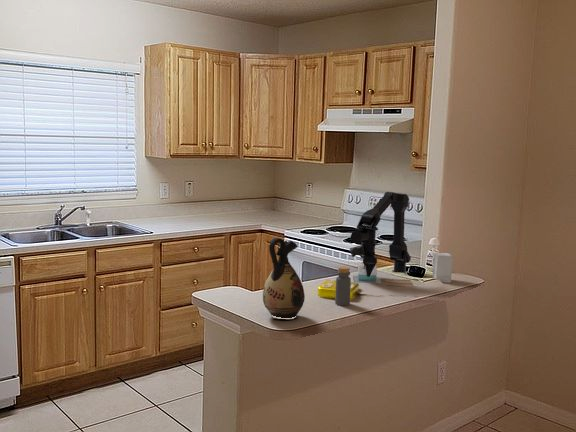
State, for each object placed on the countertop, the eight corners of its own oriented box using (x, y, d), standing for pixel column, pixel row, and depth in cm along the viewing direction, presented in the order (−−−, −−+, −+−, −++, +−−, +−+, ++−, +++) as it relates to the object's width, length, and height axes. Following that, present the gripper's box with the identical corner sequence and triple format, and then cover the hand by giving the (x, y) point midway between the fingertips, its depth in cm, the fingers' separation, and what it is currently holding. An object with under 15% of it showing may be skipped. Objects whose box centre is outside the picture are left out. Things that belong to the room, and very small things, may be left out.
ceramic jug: (284, 308, 229) (286, 232, 225) (312, 318, 218) (315, 238, 214) (250, 316, 218) (251, 236, 213) (278, 327, 207) (280, 243, 202)
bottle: (345, 307, 233) (347, 269, 231) (332, 304, 236) (334, 267, 234) (352, 303, 238) (353, 267, 236) (339, 300, 241) (340, 265, 239)
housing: (375, 278, 273) (375, 266, 272) (376, 281, 268) (376, 269, 267) (357, 277, 273) (358, 265, 273) (358, 280, 268) (359, 268, 268)
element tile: (351, 302, 241) (352, 290, 241) (316, 297, 246) (316, 286, 245) (359, 292, 255) (359, 282, 255) (326, 288, 260) (326, 278, 259)
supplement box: (451, 282, 275) (453, 256, 273) (435, 282, 275) (437, 255, 273) (447, 278, 282) (449, 253, 280) (431, 278, 282) (433, 252, 280)
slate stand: (352, 278, 277) (352, 275, 277) (378, 279, 277) (378, 276, 276) (354, 285, 265) (354, 282, 265) (381, 286, 265) (381, 283, 265)
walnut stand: (383, 282, 273) (383, 279, 272) (409, 283, 272) (410, 279, 272) (387, 289, 261) (387, 285, 261) (414, 290, 260) (414, 286, 260)
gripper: (349, 236, 278) (348, 268, 280) (352, 244, 259) (351, 278, 261) (373, 237, 277) (371, 269, 279) (378, 244, 259) (376, 279, 261)
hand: (367, 274), depth 270 cm, fingers open, 9 cm apart
